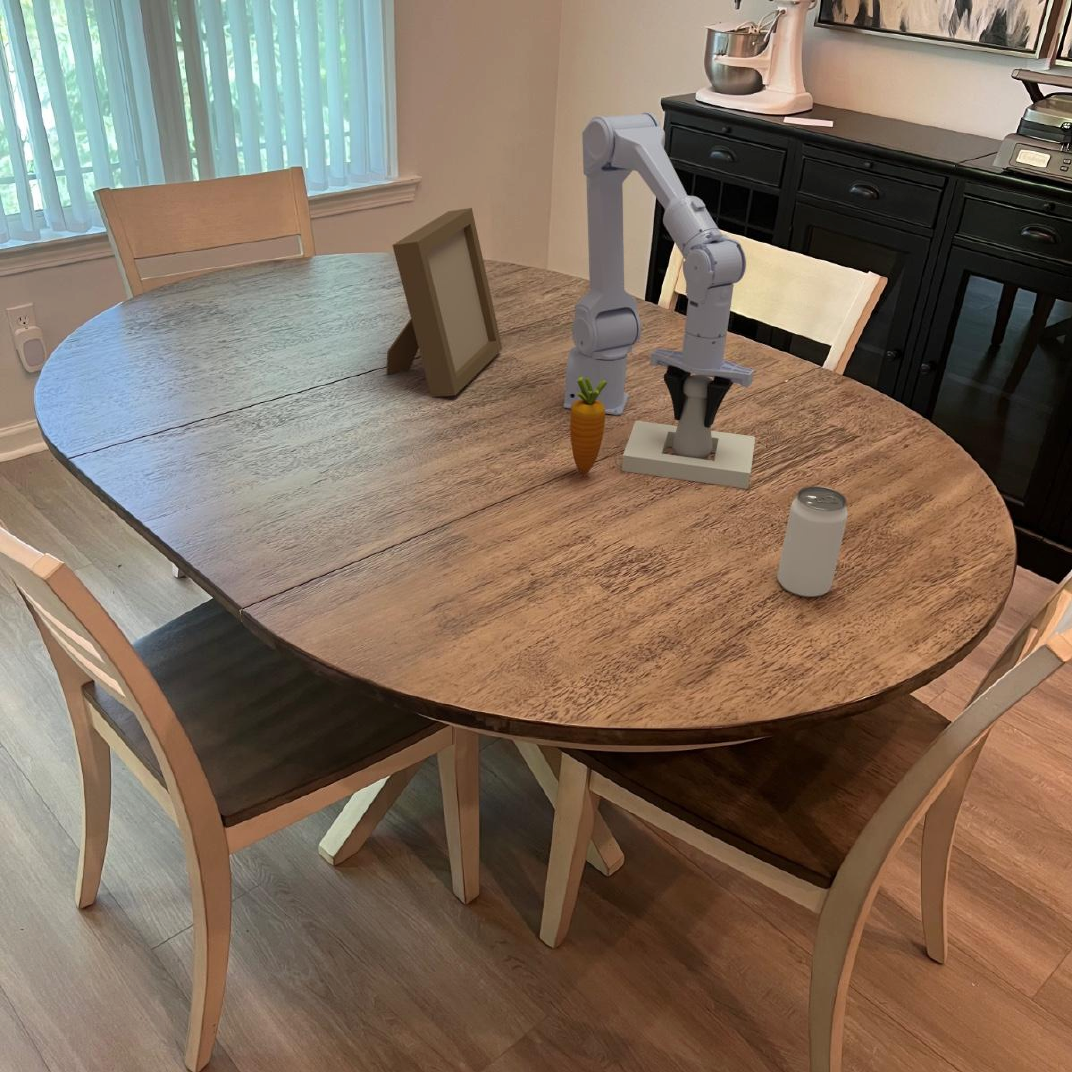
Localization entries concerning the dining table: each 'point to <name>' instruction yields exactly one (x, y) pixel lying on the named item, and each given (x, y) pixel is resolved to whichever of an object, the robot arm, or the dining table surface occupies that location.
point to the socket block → (724, 470)
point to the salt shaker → (693, 421)
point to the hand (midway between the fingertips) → (694, 421)
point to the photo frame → (445, 304)
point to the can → (812, 541)
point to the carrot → (587, 425)
